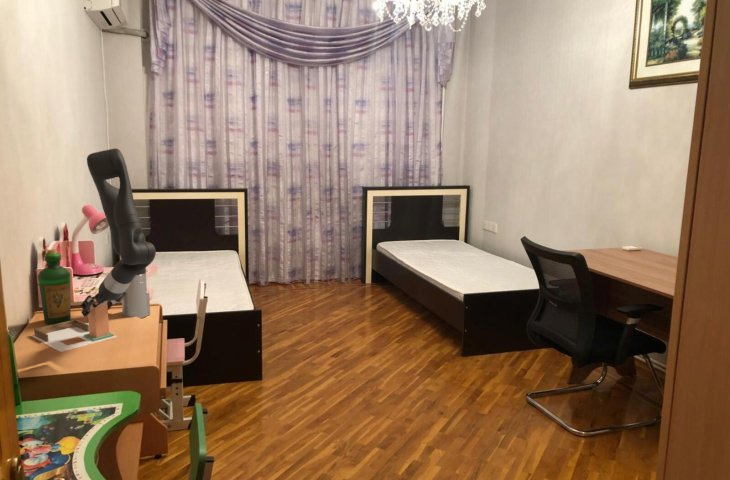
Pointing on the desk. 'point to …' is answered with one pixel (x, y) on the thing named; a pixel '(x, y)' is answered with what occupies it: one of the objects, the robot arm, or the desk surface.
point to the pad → (98, 337)
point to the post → (98, 321)
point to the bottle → (55, 290)
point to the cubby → (59, 328)
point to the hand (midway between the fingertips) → (95, 311)
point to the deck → (66, 334)
